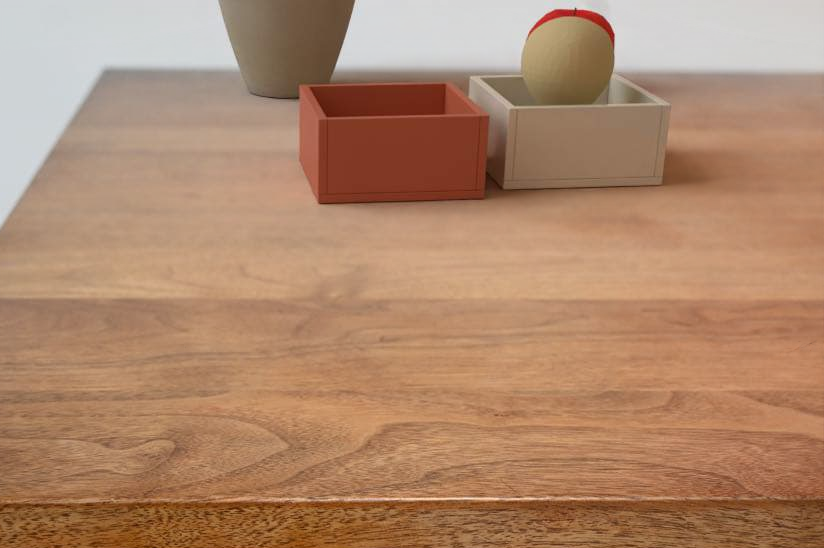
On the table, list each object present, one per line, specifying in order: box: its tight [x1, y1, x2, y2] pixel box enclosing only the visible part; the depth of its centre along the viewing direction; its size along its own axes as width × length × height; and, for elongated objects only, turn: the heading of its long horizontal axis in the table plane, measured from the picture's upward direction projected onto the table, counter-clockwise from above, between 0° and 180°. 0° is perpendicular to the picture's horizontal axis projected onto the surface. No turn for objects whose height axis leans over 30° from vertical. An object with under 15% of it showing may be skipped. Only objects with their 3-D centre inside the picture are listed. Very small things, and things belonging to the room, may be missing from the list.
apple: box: [525, 6, 616, 49], centre depth 115 cm, size 8×8×7 cm
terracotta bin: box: [298, 81, 489, 204], centre depth 87 cm, size 11×11×6 cm
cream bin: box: [468, 72, 672, 191], centre depth 90 cm, size 11×11×6 cm
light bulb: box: [520, 17, 616, 106], centre depth 89 cm, size 6×6×10 cm
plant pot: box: [217, 0, 356, 99], centre depth 113 cm, size 15×15×16 cm
